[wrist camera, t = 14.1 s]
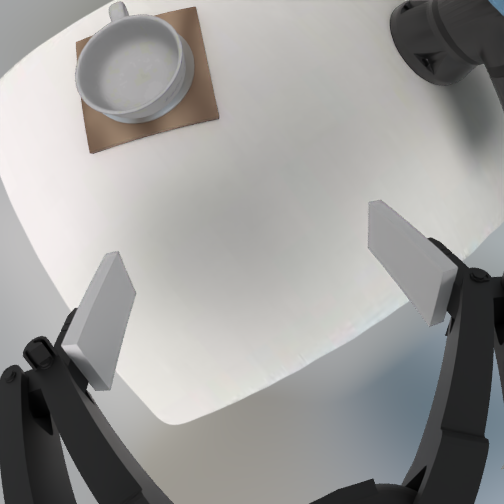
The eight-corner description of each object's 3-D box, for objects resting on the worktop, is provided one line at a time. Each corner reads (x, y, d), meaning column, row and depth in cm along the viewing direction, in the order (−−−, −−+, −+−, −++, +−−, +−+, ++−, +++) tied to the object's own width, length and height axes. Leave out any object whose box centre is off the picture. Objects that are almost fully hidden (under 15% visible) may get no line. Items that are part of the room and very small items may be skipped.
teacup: (190, 117, 32) (185, 102, 24) (100, 133, 31) (73, 124, 23) (184, 15, 28) (180, -18, 21) (99, 32, 27) (78, 5, 20)
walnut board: (195, 10, 30) (195, 3, 28) (218, 118, 34) (219, 115, 32) (79, 45, 29) (73, 40, 27) (93, 153, 33) (87, 152, 31)
